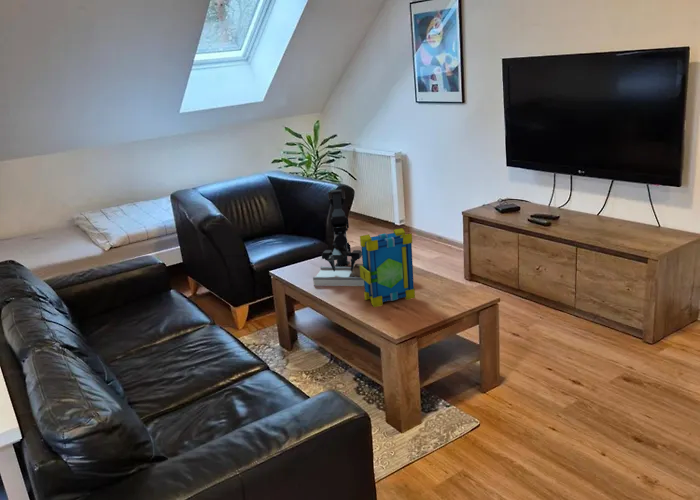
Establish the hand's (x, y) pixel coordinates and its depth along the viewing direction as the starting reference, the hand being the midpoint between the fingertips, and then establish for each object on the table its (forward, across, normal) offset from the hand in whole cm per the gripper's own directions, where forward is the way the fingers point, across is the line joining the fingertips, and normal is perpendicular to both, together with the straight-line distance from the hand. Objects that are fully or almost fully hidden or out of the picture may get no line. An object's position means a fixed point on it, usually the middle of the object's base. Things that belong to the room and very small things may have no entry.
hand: (343, 271), depth 308 cm
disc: (+2, +10, 0) cm, 10 cm away
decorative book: (+5, +27, -22) cm, 35 cm away
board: (+5, +2, 0) cm, 5 cm away
